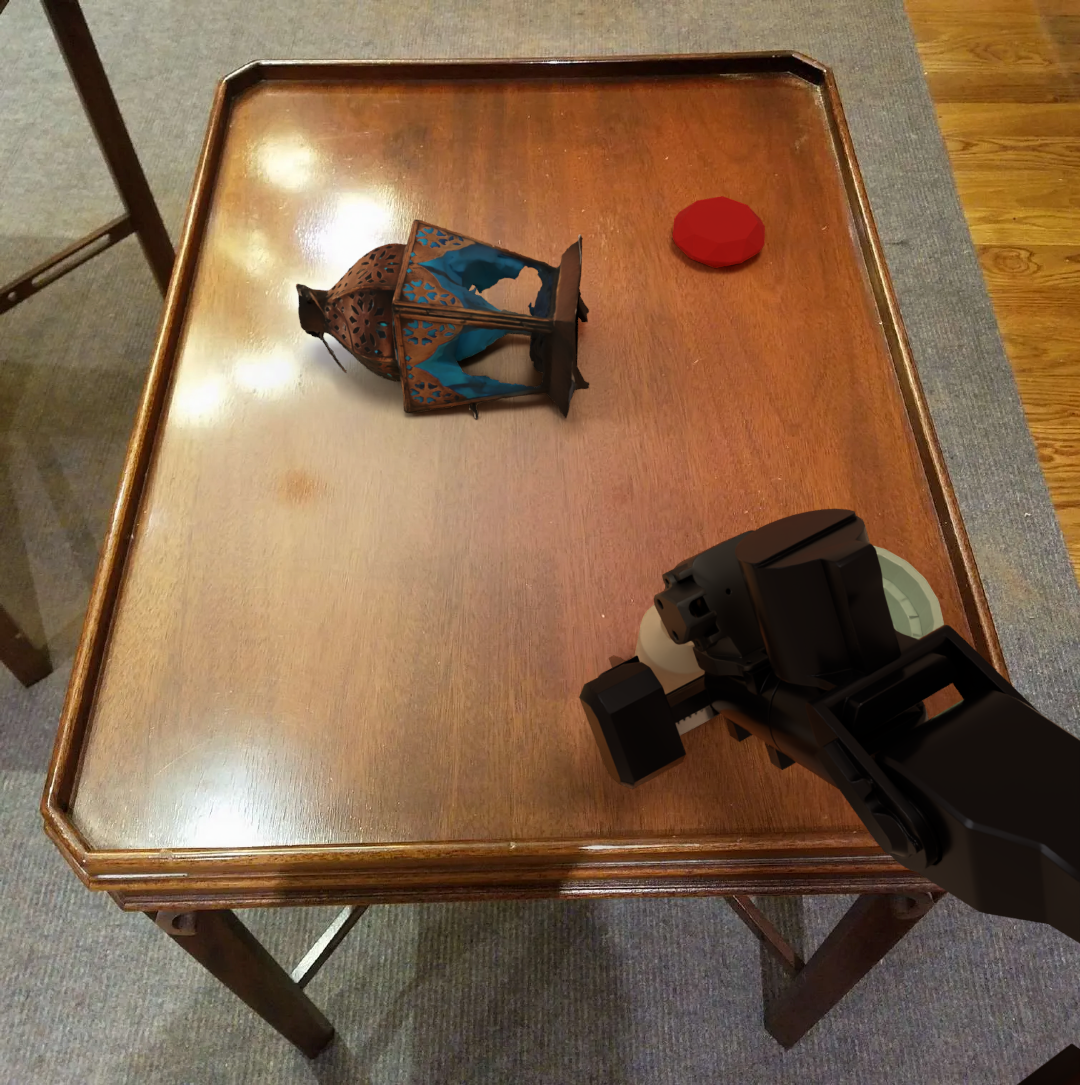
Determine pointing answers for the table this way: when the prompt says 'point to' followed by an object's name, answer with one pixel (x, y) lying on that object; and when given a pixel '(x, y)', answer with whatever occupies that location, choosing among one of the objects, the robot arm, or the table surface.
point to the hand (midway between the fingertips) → (672, 632)
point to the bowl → (908, 596)
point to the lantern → (449, 318)
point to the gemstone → (718, 232)
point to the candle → (665, 653)
